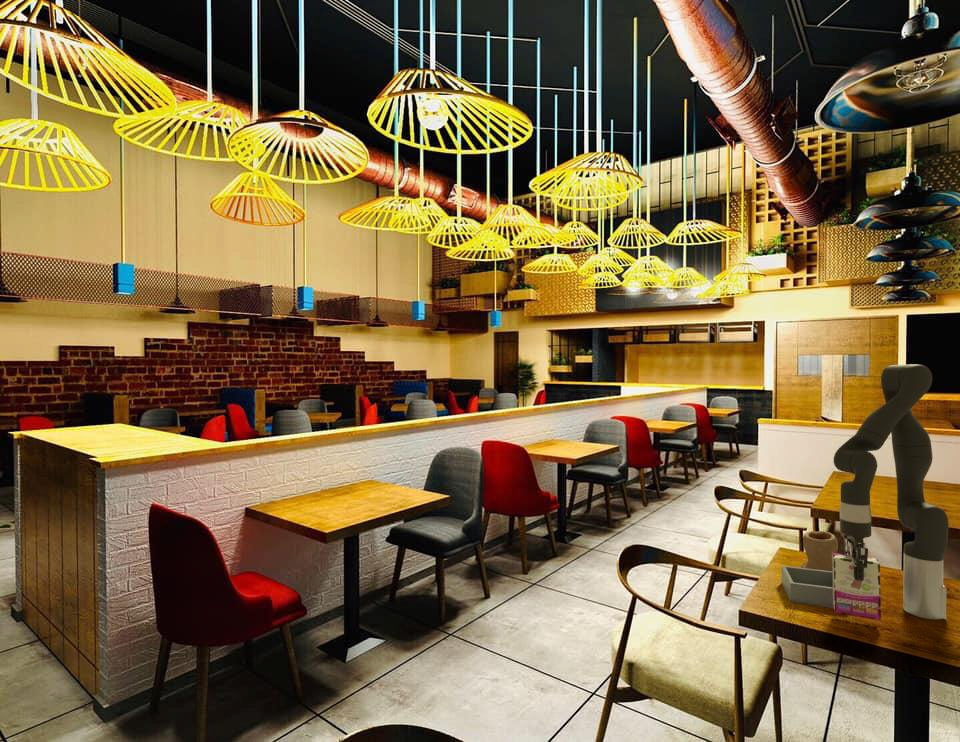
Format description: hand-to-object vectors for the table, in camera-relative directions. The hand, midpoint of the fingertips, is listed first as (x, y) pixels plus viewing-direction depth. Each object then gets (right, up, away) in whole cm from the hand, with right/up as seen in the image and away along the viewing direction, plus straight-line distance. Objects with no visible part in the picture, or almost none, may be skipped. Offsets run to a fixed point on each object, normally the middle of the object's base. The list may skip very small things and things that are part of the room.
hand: (855, 575), depth 155 cm
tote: (-1, -13, +18) cm, 22 cm away
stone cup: (+14, -13, +35) cm, 40 cm away
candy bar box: (0, -11, 0) cm, 11 cm away
